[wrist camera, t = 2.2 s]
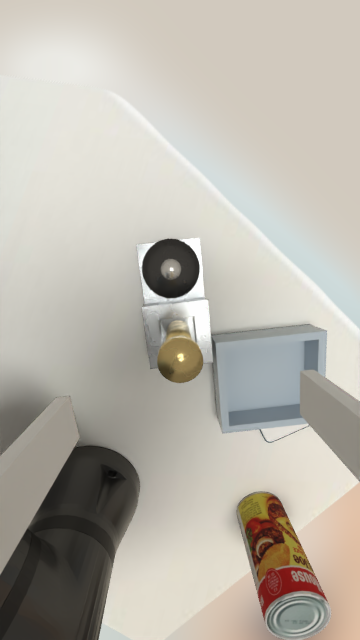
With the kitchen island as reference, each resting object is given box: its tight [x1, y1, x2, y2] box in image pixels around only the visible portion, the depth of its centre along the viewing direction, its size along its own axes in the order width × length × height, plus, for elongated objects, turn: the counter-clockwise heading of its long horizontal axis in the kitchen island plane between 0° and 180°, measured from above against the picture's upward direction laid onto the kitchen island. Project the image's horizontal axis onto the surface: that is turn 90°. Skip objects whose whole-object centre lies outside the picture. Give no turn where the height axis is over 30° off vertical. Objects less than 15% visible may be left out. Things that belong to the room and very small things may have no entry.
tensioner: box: [136, 238, 213, 369], centre depth 28 cm, size 16×8×4 cm, turn 6°
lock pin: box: [157, 320, 203, 383], centre depth 24 cm, size 4×4×10 cm
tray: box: [211, 324, 327, 433], centre depth 30 cm, size 14×13×4 cm
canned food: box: [237, 492, 331, 640], centre depth 32 cm, size 8×8×12 cm
